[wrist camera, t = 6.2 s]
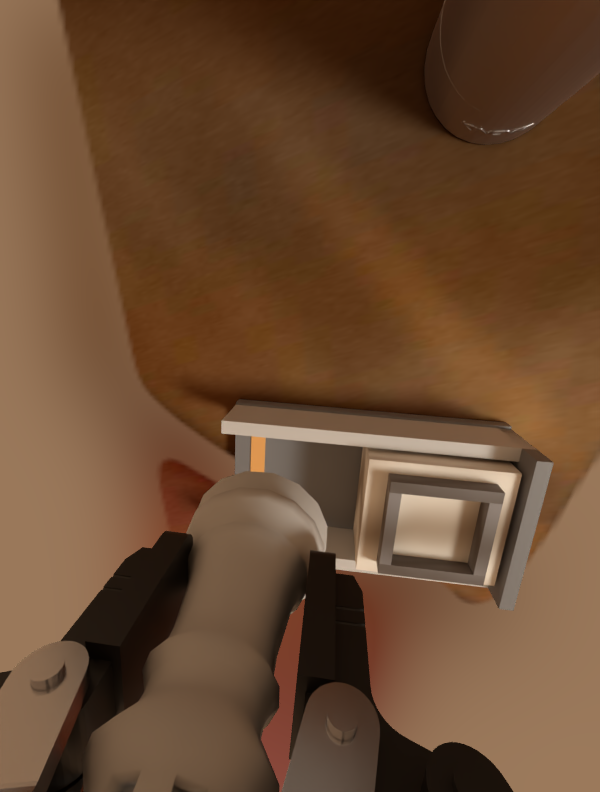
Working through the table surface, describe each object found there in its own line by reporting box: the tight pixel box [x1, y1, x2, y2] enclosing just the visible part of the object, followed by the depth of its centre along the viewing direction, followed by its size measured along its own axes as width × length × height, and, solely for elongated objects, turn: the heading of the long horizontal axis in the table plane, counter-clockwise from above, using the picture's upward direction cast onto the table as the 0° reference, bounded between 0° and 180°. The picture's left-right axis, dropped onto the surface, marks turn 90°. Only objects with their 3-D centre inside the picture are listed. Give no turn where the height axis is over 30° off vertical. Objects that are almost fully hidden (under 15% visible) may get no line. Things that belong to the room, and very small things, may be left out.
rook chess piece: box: [82, 471, 327, 792], centre depth 9 cm, size 4×4×8 cm
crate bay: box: [222, 399, 553, 610], centre depth 29 cm, size 12×22×7 cm, turn 86°
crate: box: [353, 447, 522, 586], centre depth 28 cm, size 9×10×6 cm
